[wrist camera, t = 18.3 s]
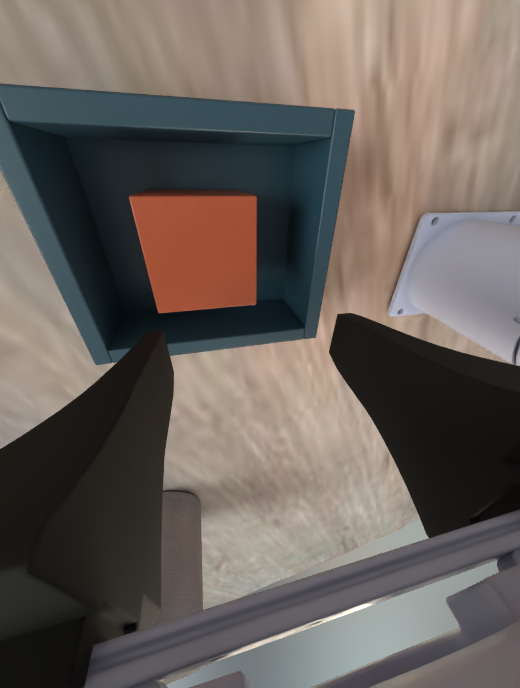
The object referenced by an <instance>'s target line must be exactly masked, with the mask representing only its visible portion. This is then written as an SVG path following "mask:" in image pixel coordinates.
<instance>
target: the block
mask: <svg viewBox="0 0 520 688" xmlns="http://www.w3.org/2000/svg"><path fill="white" fill-rule="evenodd" d="M129 200H130V204H131V208H132V212H133V216H134V220H135V224H136V228H137V232H138V235H139V239H140V243H141V247H142V251H143V255H144V259H145V263H146V267H147V271H148V275H149V279H150V283H151V286H152V290H153V294H154V298H155V302H156V306H157V310H158V313H168V312H179V311H190V310H201V309H212V308H223V307H234V306H245V305H255V304H256V300H257V196H255V195H252V194H249V193H247V192H244V191H241V190H238V189H147V190H144V191H142V192H139V193H136V194H134V195H131V196H129Z"/></svg>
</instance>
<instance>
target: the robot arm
mask: <svg viewBox="0 0 520 688" xmlns="http://www.w3.org/2000/svg"><path fill="white" fill-rule="evenodd" d="M433 219H434V221H433ZM432 221H433V223H432ZM387 313H388V315H389V316H391V317H398V316H407V315H416V314H424V313H426V314H428V315H430V316H431V317H433V318H435V319H436V320H438V321H440V322H441V323H443V324H445V325H446V326H448V327H450V328H451V329H453V330H455V331H457V332H458V333H460V334H462V335H463V336H465V337H467V338H468V339H470V340H472V341H473V342H475V343H477V344H478V345H480V346H482V347H483V348H485V349H487V350H488V351H490V352H492V353H494V354H495V355H497V356H499V357H500V358H502V359H504V360H505V361H507V362H509V363H510V364H508V363H503V362H498V361H494V360H490V359H485V358H481V357H477V356H473V355H469V354H465V353H461V352H458V351H455V350H451V349H448V348H445V347H441V346H438V345H435V344H432V343H429V342H426V341H423V340H421V339H418V338H415V337H412V336H410V335H407V334H405V333H402V332H400V331H397V330H395V329H392V328H390V327H387V326H385V325H382V324H380V323H377V322H375V321H372V320H370V319H367V318H365V317H362V316H359V315H356V314H352V313H345V314H338V315H337V319H336V324H335V328H334V332H333V337H332V341H331V346H330V350H329V353H330V355H331V357H332V359H333V362H334V364H335V365H336V367H337V369H338V371H339V372H340V374H341V375H342V377H343V378H344V380H345V381H346V383H347V384H348V385H349V387H350V388H351V390H352V391H353V392H354V394H355V395H356V397H357V398H358V399H359V401H360V402H361V404H362V405H363V406H364V408H365V409H366V411H367V412H368V414H369V415H370V417H371V418H372V420H373V422H374V424H375V425H376V427H377V429H378V431H379V433H380V434H381V436H382V438H383V440H384V442H385V444H386V445H387V447H388V449H389V451H390V453H391V455H392V457H393V459H394V461H395V463H396V465H397V467H398V469H399V471H400V474H401V476H402V478H403V480H404V482H405V484H406V486H407V488H408V491H409V493H410V495H411V498H412V500H413V502H414V505H415V507H416V509H417V512H418V514H419V517H420V519H421V522H422V524H423V526H424V529H425V531H426V534H427V536H428V537H429V539H426V540H422V541H419V542H416V543H413V544H410V545H407V546H404V547H400V548H397V549H394V550H391V551H388V552H385V553H381V554H378V555H375V556H372V557H369V558H366V559H363V560H360V561H356V562H353V563H350V564H347V565H344V566H341V567H338V568H334V569H331V570H328V571H325V572H322V573H318V574H315V575H312V576H309V577H306V578H303V579H300V580H296V581H294V582H290V583H287V584H284V585H281V586H278V587H274V588H271V589H268V590H265V591H262V592H259V593H255V594H252V595H249V596H246V597H243V598H240V599H237V600H233V601H230V602H227V603H224V604H221V605H218V606H215V607H211V608H208V609H205V610H202V611H199V612H196V613H192V614H189V615H186V616H183V617H180V618H177V619H174V620H170V621H167V622H164V623H161V624H158V625H155V626H152V625H153V623H154V622H155V620H156V619H157V617H158V615H159V614H160V612H161V539H162V499H163V474H164V456H165V447H166V440H167V434H168V427H169V421H170V414H171V407H172V400H173V390H174V371H173V367H172V363H171V359H170V354H169V350H168V346H167V342H166V338H165V334H164V331H156V332H147V333H145V334H144V335H143V336H142V337H141V338H140V340H139V341H138V342H137V343H136V344H135V345H134V346H133V347H132V348H131V349H130V350H129V351H128V352H127V353H126V354H125V355H124V356H123V357H122V358H121V359H120V360H119V361H118V362H117V363H116V364H115V365H114V366H113V367H112V368H111V369H110V370H109V371H107V372H106V373H105V374H104V375H103V376H102V377H101V378H100V379H99V380H98V381H96V382H95V383H94V384H93V385H92V386H91V387H90V388H88V389H87V390H86V391H85V392H83V393H82V394H81V395H80V396H78V397H77V398H76V399H74V400H73V401H72V402H70V403H69V404H68V405H66V406H65V407H64V408H62V409H61V410H60V411H58V412H57V413H55V414H54V415H52V416H51V417H49V418H48V419H46V420H45V421H43V422H42V423H40V424H39V425H37V426H36V427H34V428H33V429H31V430H30V431H28V432H27V433H25V434H24V435H23V436H21V437H19V438H18V439H16V440H15V441H13V442H11V443H10V444H8V445H6V446H5V447H3V448H1V449H0V688H168V687H167V686H166V685H165V684H164V683H162V682H161V681H164V680H167V679H169V678H172V677H175V676H178V675H180V674H183V673H186V672H189V671H191V670H194V669H197V668H200V667H202V666H205V665H208V664H211V663H214V662H216V661H219V660H222V659H225V658H227V657H230V656H233V655H235V654H238V653H241V652H244V651H247V650H249V649H252V648H255V647H258V646H260V645H263V644H266V643H269V642H271V641H274V640H277V639H280V638H283V637H285V636H288V635H291V634H294V633H296V632H299V631H302V630H305V629H307V628H310V627H313V626H316V625H319V624H321V623H324V622H327V621H330V620H332V619H335V618H338V617H341V616H343V615H346V614H349V613H352V612H355V611H357V610H360V609H363V608H365V607H368V606H371V605H374V604H377V603H379V602H382V601H385V600H388V599H391V598H393V597H396V596H399V595H402V594H404V593H407V592H410V591H413V590H415V589H418V588H421V587H424V586H426V585H429V584H432V583H435V582H438V581H440V580H443V579H446V578H449V577H451V576H454V575H457V574H460V573H462V572H465V571H468V570H471V569H473V568H476V567H479V566H482V565H485V564H487V563H490V562H493V561H496V560H498V559H499V560H498V561H497V567H498V569H499V573H497V574H494V575H492V576H490V577H488V578H486V579H484V580H483V581H480V582H479V583H476V584H475V585H472V586H470V587H468V588H467V589H464V590H462V591H460V592H458V593H455V594H454V595H451V596H449V597H447V599H446V602H447V604H448V606H449V608H450V610H451V611H452V613H453V614H454V616H455V618H456V620H457V621H458V623H459V626H460V628H458V629H455V630H453V631H450V632H447V633H445V634H443V635H440V636H437V637H435V638H433V639H430V640H427V641H425V642H422V643H420V644H417V645H415V646H412V647H410V648H407V649H405V650H402V651H399V652H397V653H394V654H392V655H389V656H387V657H384V658H382V659H380V660H377V661H374V662H372V663H369V664H367V665H365V666H362V667H360V668H357V669H355V670H352V671H350V672H347V673H345V674H343V675H340V676H338V677H335V678H333V679H330V680H328V681H326V682H323V683H321V684H318V685H316V686H313V687H311V688H520V211H495V212H441V213H425V214H424V215H423V216H422V217H421V218H420V220H419V223H418V226H417V229H416V232H415V234H414V237H413V240H412V243H411V246H410V249H409V252H408V254H407V257H406V260H405V263H404V266H403V269H402V272H401V274H400V277H399V280H398V283H397V286H396V289H395V291H394V294H393V297H392V300H391V303H390V306H389V309H388V312H387ZM151 626H152V627H151ZM190 688H250V683H249V678H248V677H247V676H246V675H244V674H243V673H242V672H241V671H238V672H235V673H232V674H229V675H226V676H223V677H220V678H217V679H214V680H211V681H208V682H205V683H202V684H199V685H196V686H193V687H190Z"/></svg>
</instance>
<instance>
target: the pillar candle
mask: <svg viewBox="0 0 520 688" xmlns="http://www.w3.org/2000/svg"><path fill="white" fill-rule="evenodd" d="M202 610H203V584H202V541H201V504H200V500H199V499H198V498H197V497H196V496H194V495H192V494H189V493H185V492H177V491H176V492H170V491H168V492H163V499H162V539H161V612H160V614H159V615H158V617H157V619H156V620H155V622H154V623H153V625H152V626H155V625H158V624H161V623H164V622H167V621H170V620H174V619H177V618H180V617H183V616H186V615H189V614H192V613H196V612H199V611H202ZM152 626H151V627H152ZM202 667H203V666H202ZM202 667H200V668H202ZM200 668H197V669H194V670H191V671H189V672H186V673H183V674H180V675H178V676H175V677H172V678H169V679H167V680H164V681H161V682H162V683H164V684H165V685H166V684H168V683H171V682H173V681H176V680H178V679H180V678H183V677H186V676H188V675H190V674H192V673H194V672H196V671H198V670H199V669H200Z"/></svg>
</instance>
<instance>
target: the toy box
mask: <svg viewBox="0 0 520 688" xmlns="http://www.w3.org/2000/svg"><path fill="white" fill-rule="evenodd" d="M354 114H355V111H354V110H349V109H333V108H322V107H308V106H295V105H282V104H268V103H255V102H241V101H228V100H214V99H201V98H188V97H174V96H161V95H147V94H134V93H120V92H107V91H94V90H80V89H67V88H53V87H40V86H26V85H13V84H0V170H1V172H2V174H3V176H4V178H5V180H6V182H7V184H8V186H9V188H10V190H11V192H12V194H13V196H14V198H15V200H16V202H17V204H18V206H19V209H20V211H21V213H22V215H23V217H24V219H25V221H26V223H27V225H28V227H29V229H30V231H31V233H32V235H33V237H34V239H35V241H36V243H37V245H38V248H39V250H40V252H41V254H42V256H43V258H44V260H45V262H46V264H47V266H48V268H49V270H50V272H51V274H52V276H53V278H54V280H55V282H56V284H57V286H58V289H59V291H60V293H61V295H62V297H63V299H64V301H65V303H66V305H67V307H68V309H69V311H70V313H71V315H72V317H73V319H74V321H75V323H76V325H77V328H78V330H79V332H80V334H81V336H82V338H83V340H84V342H85V344H86V346H87V348H88V350H89V352H90V354H91V356H92V358H93V360H94V362H95V364H96V365H100V364H108V363H112V362H113V363H116V362H118V361H119V360H120V359H121V358H122V357H123V356H124V355H125V354H126V353H127V352H128V351H129V350H130V349H131V348H132V347H133V346H134V345H135V344H136V343H137V342H138V341H139V340H140V338H141V337H142V336H143V335H144V334H145V333H147V332H156V331H164V334H165V338H166V342H167V346H168V350H169V354H170V356H173V355H181V354H189V353H197V352H205V351H213V350H221V349H229V348H237V347H245V346H253V345H261V344H269V343H277V342H285V341H294V340H302V339H310V338H316V333H317V327H318V322H319V316H320V310H321V304H322V299H323V293H324V287H325V281H326V275H327V270H328V264H329V258H330V252H331V247H332V241H333V235H334V229H335V223H336V218H337V212H338V206H339V200H340V195H341V189H342V183H343V177H344V171H345V166H346V160H347V154H348V148H349V143H350V137H351V131H352V125H353V120H354ZM147 189H238V190H241V191H244V192H247V193H249V194H252V195H255V196H257V300H256V304H255V305H245V306H234V307H223V308H212V309H201V310H190V311H179V312H168V313H158V310H157V306H156V302H155V298H154V294H153V290H152V286H151V283H150V279H149V275H148V271H147V267H146V263H145V259H144V255H143V251H142V247H141V243H140V239H139V235H138V232H137V228H136V224H135V220H134V216H133V212H132V208H131V204H130V200H129V196H131V195H134V194H136V193H139V192H142V191H144V190H147Z"/></svg>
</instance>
